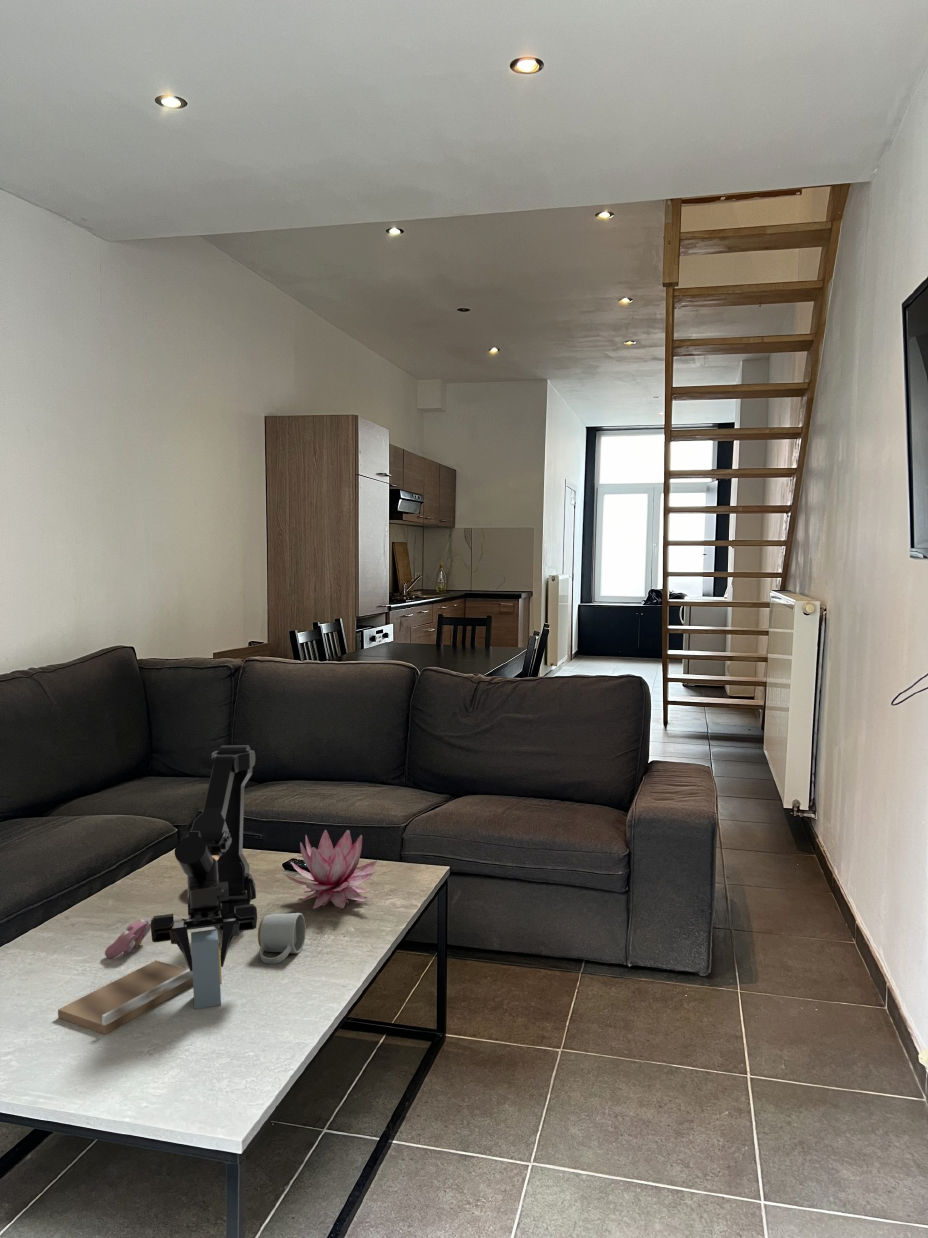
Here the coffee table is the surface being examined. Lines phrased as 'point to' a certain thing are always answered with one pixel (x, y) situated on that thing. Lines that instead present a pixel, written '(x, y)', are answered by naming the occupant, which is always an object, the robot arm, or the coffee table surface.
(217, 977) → the tea tin
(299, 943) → the ceramic mug
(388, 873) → the coffee table surface
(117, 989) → the board
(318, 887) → the decorative flower
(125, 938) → the pink elongated piece
